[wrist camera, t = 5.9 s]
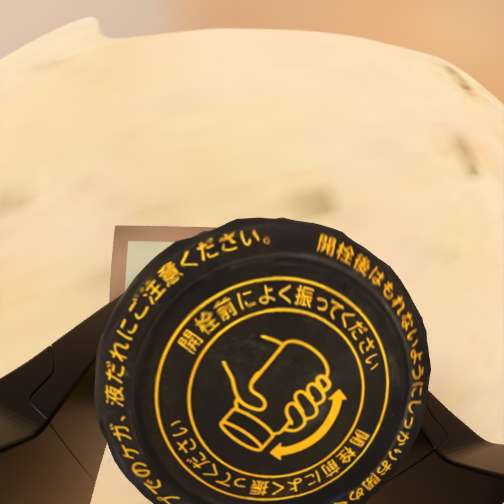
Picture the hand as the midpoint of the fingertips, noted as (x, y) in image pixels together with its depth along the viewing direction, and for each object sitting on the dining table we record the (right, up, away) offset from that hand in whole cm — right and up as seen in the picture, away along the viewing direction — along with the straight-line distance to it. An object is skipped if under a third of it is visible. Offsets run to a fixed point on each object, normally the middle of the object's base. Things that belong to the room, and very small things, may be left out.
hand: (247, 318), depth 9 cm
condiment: (0, -3, +6) cm, 7 cm away
